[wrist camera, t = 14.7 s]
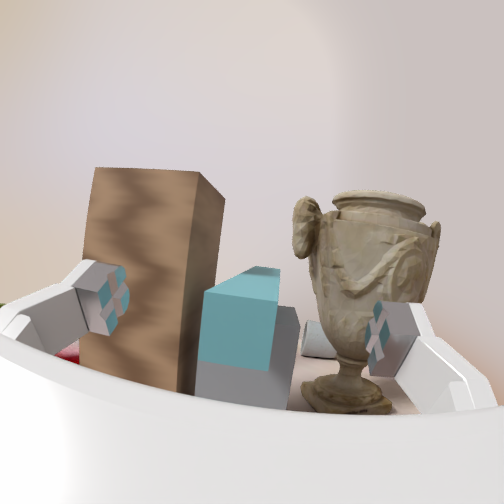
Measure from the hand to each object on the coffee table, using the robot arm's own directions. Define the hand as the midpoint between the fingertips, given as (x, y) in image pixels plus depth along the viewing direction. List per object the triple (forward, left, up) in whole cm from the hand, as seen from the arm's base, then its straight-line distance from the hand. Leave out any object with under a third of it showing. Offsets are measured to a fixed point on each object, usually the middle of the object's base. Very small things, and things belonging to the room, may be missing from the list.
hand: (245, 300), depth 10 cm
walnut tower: (-10, +18, -19) cm, 28 cm away
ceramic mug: (+12, +58, -20) cm, 63 cm away
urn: (+14, +33, -20) cm, 41 cm away
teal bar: (0, +16, -3) cm, 16 cm away
